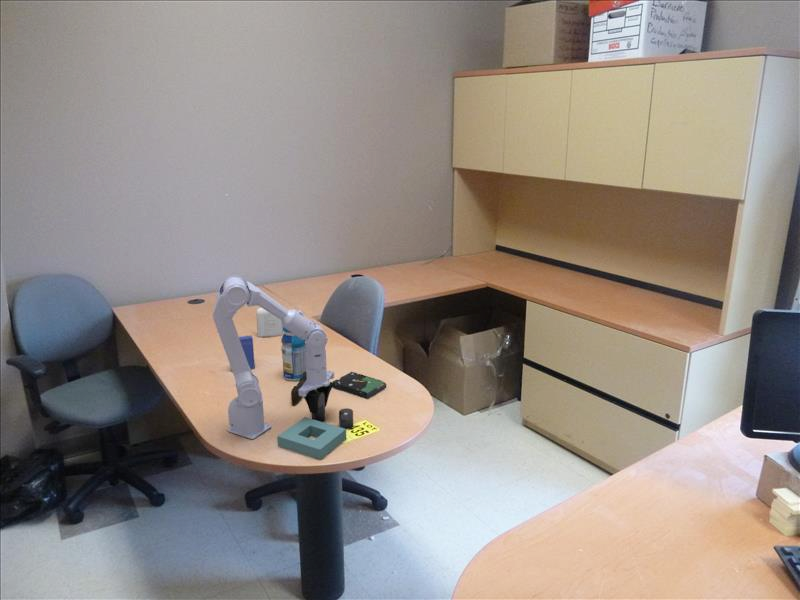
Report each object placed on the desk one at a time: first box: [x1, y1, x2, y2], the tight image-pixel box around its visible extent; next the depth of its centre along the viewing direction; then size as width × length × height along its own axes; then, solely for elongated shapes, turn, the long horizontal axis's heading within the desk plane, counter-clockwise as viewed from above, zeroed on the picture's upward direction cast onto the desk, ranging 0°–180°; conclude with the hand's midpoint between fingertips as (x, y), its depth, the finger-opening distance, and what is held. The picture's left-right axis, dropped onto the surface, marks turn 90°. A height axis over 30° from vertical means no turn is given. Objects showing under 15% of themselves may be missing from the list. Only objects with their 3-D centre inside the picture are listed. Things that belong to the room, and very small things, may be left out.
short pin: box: [338, 408, 354, 430], centre depth 167 cm, size 4×4×4 cm
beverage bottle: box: [280, 327, 306, 382], centre depth 197 cm, size 8×8×20 cm
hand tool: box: [290, 371, 307, 407], centre depth 188 cm, size 19×4×5 cm, turn 170°
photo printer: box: [256, 307, 284, 338], centre depth 237 cm, size 10×4×12 cm, turn 102°
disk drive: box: [332, 371, 387, 400], centre depth 192 cm, size 10×3×15 cm
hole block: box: [276, 416, 347, 461], centre depth 159 cm, size 14×12×3 cm
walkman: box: [231, 334, 256, 373], centre depth 204 cm, size 8×3×12 cm, turn 114°
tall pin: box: [310, 389, 327, 423], centre depth 170 cm, size 4×4×9 cm
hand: (318, 409), depth 170 cm, fingers closed on tall pin, 4 cm apart
